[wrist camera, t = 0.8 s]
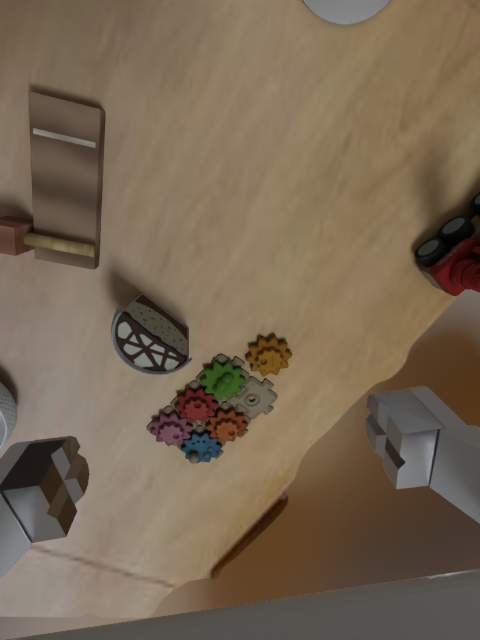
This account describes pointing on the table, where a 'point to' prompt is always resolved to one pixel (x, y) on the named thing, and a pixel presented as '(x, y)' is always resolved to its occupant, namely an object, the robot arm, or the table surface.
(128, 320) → the food container
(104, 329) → the table surface
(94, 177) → the walnut board
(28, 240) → the toy wooden hammer
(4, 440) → the cereal bowl
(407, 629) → the robot arm
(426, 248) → the toy fire truck
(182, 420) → the gear puzzle
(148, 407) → the table surface
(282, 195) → the table surface
